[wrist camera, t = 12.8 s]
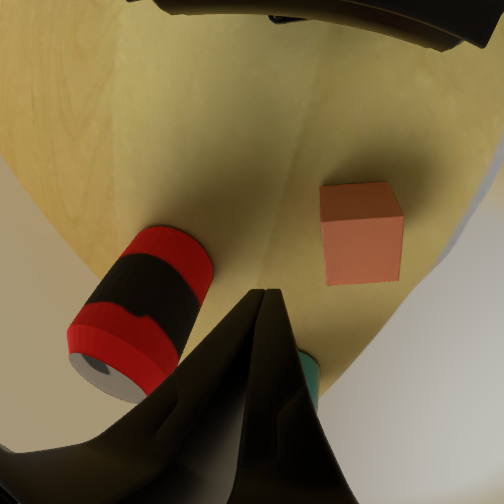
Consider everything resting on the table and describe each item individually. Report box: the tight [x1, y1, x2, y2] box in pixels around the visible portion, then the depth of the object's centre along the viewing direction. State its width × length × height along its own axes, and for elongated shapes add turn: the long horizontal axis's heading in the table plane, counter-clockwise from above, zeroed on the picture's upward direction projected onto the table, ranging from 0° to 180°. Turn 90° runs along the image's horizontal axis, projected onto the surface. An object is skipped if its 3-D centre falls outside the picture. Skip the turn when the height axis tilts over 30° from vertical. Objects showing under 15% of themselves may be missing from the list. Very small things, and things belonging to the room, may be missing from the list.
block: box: [320, 182, 404, 286], centre depth 18 cm, size 4×4×4 cm
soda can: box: [67, 227, 213, 404], centre depth 20 cm, size 8×8×12 cm
